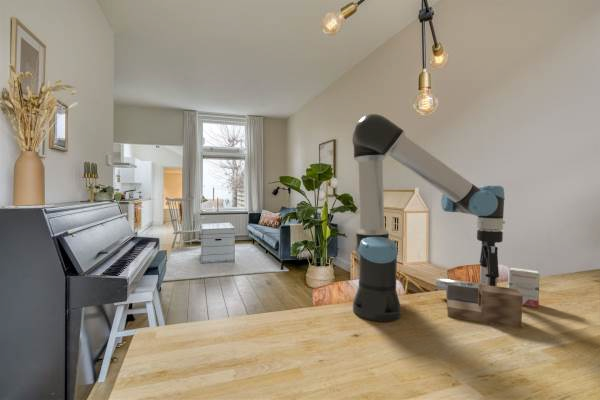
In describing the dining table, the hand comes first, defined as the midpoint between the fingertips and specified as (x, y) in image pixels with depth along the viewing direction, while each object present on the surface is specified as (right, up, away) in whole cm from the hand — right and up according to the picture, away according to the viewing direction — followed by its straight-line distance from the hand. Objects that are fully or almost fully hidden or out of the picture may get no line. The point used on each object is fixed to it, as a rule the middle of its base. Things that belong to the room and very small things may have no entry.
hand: (487, 290), depth 103 cm
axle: (-7, -2, +3) cm, 8 cm away
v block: (-7, -5, +3) cm, 9 cm away
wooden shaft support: (-9, -5, -11) cm, 15 cm away
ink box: (+14, -5, +2) cm, 15 cm away
